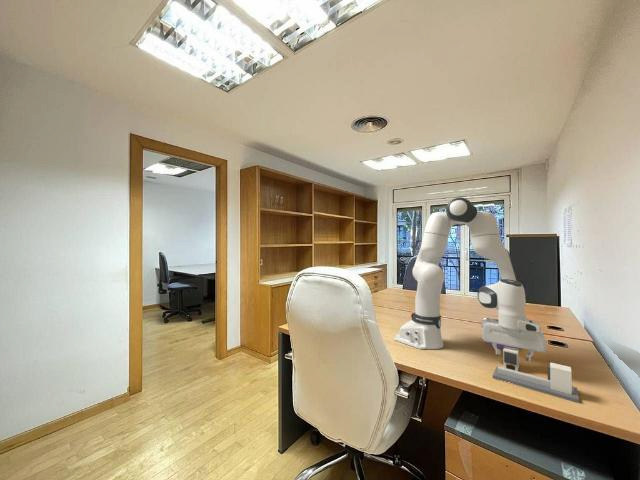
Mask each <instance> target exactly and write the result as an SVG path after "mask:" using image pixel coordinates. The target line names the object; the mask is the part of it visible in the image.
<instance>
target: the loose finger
mask: <svg viewBox="0 0 640 480" xmlns="http://www.w3.org/2000/svg"><path fill="white" fill-rule="evenodd" d="M502 351H503V352H502V353H503V354H502V356H503V359H502V360H503V361H502V364H503V368H507V367H508V365H510V366H514V371H518V372H519V368H520V348H517V349H516V348H512V347H507V346H505V347H504V349H502Z"/></svg>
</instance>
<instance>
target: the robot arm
mask: <svg viewBox="0 0 640 480" xmlns="http://www.w3.org/2000/svg"><path fill="white" fill-rule="evenodd" d="M465 225H466V226H467V227H468V230H469V237H470V243H471V248H472V251H474V253H476V254H477V255H478V256H480V257H482V258H485V259H488V260H490V261H491V262H493V263H494V264H495V265H496V267H497V269H498V272H499V275H500V279H499V280H498V282H496V283H493V284H488V285H483V286H481V287H479V289H478V292H477V300H478V302H479V303H480V305H481V306H482V307H484V308H487V309H496V310H497V319H494V318H489V317H485V318H483V319H481V321H480V326H481V327H482V331H481V339H482V340H483V341H484V342H487V343H488V342H492V345H493V346H492V345H491V346H492V347H493V349H494V350H495V355H498V356H501V354H502V353H501V348H498V347H497V346H496V345H497V344H502V345H507V346H512V347H517V349H523V350H528V351H529V354H525V361H526V362H531V359H532V357H533V355H534V354H535V352H539V353H545V352H546V351H547V342H546V336H545V333H544V332H543V331H542V325H541V323H540V322H538V321H535V320H532V319H529V318H527V315H526V311H525V308H526V302H527V301H526V292H525V291H526V290H525V288H524V286H523V284H522V283H521V282H520V281H519V278H518V275H517V271H516V268H515V265H514V262H513V258H512V256H511V254H510V252H509V250H508V249H507V248H506V247H505V245H504V244H503V242H502V238H501V233H500V228H499V224H498V221H497V218H496V216H495V215H494V214H493V212H490V211H484V210H483V211H478V208H477V207H476V206H474V204H473V202H471V201H470V200H469V199H468V198H465V197H461V196H460V197H454V198H452V199H451V200H450V201H449V202H448V203H447V205H446V207H445V211H436V212H432V213H431V214H430V215H429V216H428V219H427V222H426V224H425V228H424V231H423V235H422V239H421V243H420V249H419V252H418V254H417V257H416V260H415V263H414V265H413V267H412V277H413V278H414V279H415V281H417V287H416V294H415V296H414V304H415V305H414V306H415V307H414V308H415V309H414V310H415V311H413V312H412V313H411V314H410V316H409V317H410V318H411V319H410V320H408V321H407V322H406V323H404V324H402V325H401V326H400V328H399V333H397V334H396V335H394V341H396V342H398V343H402V344H404V345H408V346H409V347H412V348H416V349H419V350H438V349H442V348H443V347H444V346H445V344H444V341H443V336H442V331H441V330H442V329H441V327H442V316H441V293H442V290H443V283H444V282H445V278H446V277H445V272H444V271H443V269H442V268H441V267H440V266H439V264H440V262H441V260H442V258H443V256H445V253H446V250H447V245H448V240H449V235H450V232H451V229H452V227H459V226H460V227H462V226H465Z"/></svg>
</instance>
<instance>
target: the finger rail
mask: <svg viewBox="0 0 640 480" xmlns="http://www.w3.org/2000/svg"><path fill="white" fill-rule="evenodd" d="M572 375H573V374H572V367H571V366H568V365H565V364H564V365H562V364H560V363H559V364H558V363H556V362H552V361H551V362H550V363H547V378H544V377H541V376H537V375H533V374H530V373H526V372H523V371H519V370H518V371H515V369H511V368H507V367H506V368H503V367H502V366H496V367H495V369H494V372H493V374H492V379H493V380H494V379H495V380H497V381H501V380H502V382H504V381H506V382H505V383H508V382H510V383H509V384H511V383H513V384H512V385H515V384H516V385H515V386H518V385H519V386H518V387H522V388H525V389H529V390H533V391H536V392H539V393H543V394H547V395H549V394H550V395H551V396H554V397H556V396H557V398H560V399H564V400H566V401H570V402H574V403H578V404H580V399H579V391H578V390H579V389H578V387H576V386H574V385H572V384H573V383H572V381H573V380H572ZM550 395H549V396H550Z"/></svg>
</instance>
